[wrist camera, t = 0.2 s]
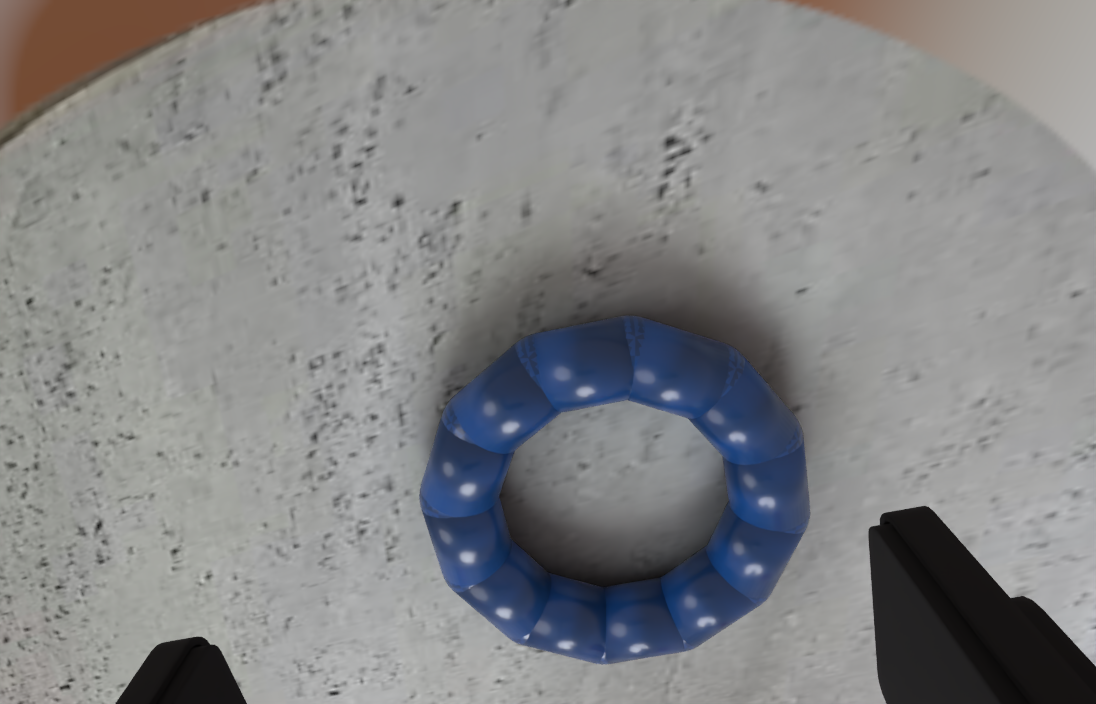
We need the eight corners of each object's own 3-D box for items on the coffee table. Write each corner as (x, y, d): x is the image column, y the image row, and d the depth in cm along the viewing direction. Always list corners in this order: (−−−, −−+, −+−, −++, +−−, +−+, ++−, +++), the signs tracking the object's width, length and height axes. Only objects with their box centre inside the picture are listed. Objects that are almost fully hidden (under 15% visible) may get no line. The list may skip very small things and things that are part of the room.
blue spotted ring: (386, 352, 24) (367, 384, 21) (774, 274, 23) (801, 297, 20) (480, 648, 28) (473, 702, 26) (806, 593, 27) (832, 644, 25)
